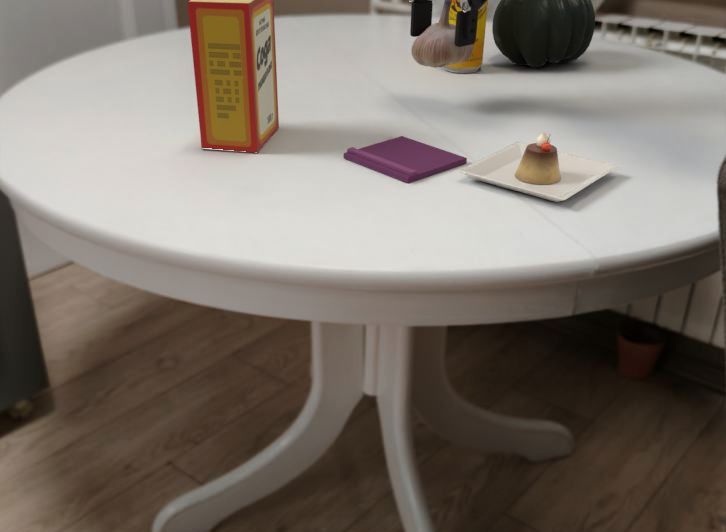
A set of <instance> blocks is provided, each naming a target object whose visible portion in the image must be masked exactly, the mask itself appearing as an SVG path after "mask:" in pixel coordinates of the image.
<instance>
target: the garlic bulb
mask: <svg viewBox="0 0 726 532" xmlns="http://www.w3.org/2000/svg"><path fill="white" fill-rule="evenodd" d="M451 3H452V0H444V2H443V6H442V11H441V13H440V14H441V15H440V16H439V19H438V22H435V23H432V24H431V26H429V27H428V28H427V29H426V30H425V31H424V32H423V33H422V34H421V35H420V36H417V37H415V39H414V41H413V43H412V45H411V56H412V58H413V60H414V61H415V62H416V63H417V64H419V65H421V66H422V67H430V68H435V69H436V68H443V67H444V66H445V65H450V64H455V63H463V62H465V61H467V60H468V59H469V58H470V56H471V54H472V52H473V44H471V45H467V46H462V47H457V46H455V29H456V26H455V25H453V24H449V11H450V7H451Z"/></svg>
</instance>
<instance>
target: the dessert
mask: <svg viewBox="0 0 726 532" xmlns="http://www.w3.org/2000/svg"><path fill="white" fill-rule="evenodd" d="M550 137H551V133H550V134H549V135H547V133H545V132H542V133H541V134H540V135H538V136H537V138H536V141H535V143H530V144H528V143H525V142H520V141H516V142H514V143H512V144H509V145H508V146H506V147H503V148H501V149H500V150H497V151H495V152H493V153H491V154H489V155H487V156H485V157H483V158H481V159H479V160H477V161H475V162H473V163H470V164H469V165H467V166H464V167H462V168H460V169H458V170H457V172H459V173H460V174H463V175H465V176H467V177H469V178H471V179H474V180H475V181H479V182H483V183H486V184H490V185H493V186H497V187H500V188H504V189H507V190H511V191H515V192H519V193H521V194H526V195H529V196H532V197H533V196H534V197H537V198H540V199H544V200H547V201H551V202H554V203H558V202H562V201H566V200H568V199H570V198H572V197H573V196H574V195H576V194H578V193H579V192H581V191H583V190H585V188H587V187H589V186H591V185H592V184H593V183H595V182H597V181H599V180H600V179H602V178H603V177H605V176H606V175H608V174H610V173H611V172H613V171H615V170H616V169H618V168H619V165H618V164H617V165H616V164H612V163H609V162H608V163H607V162H605V161H599V160H595V159H591V158H587V157H583V156H578V155H574V154H570V153H565V152H562V151H558V148H557V147H556V146H555V145H552V144H551V138H550Z"/></svg>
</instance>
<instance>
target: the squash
mask: <svg viewBox="0 0 726 532" xmlns="http://www.w3.org/2000/svg"><path fill="white" fill-rule="evenodd" d="M593 5H594V4H593V2H592V0H500V1H499V3H497V5H496V7H495V9H494V10H495V11H494V14H493V16H492V31H491V32H492V37H493V41H494V44H495V46H496V48H497V49H498V50H499V52H500V53H501V54H502V55H503V56H504V57H505V58H507V59H508V60H509V61H510V62H511V63H512V64H514V65H517V66H529V67H531V68H540V67H543V66H544V65H545V64H547V61H548V62H549V63H550V64H554V63H558V64H568V63H572V62H573V61H575V60H577V59H579V58H580V57H581V56H583V55H584V54H585V52H587V50H588V48H589V47H590V45H591V43H592V41H593V37H594V32H595V26H596V12H595V9H594V6H593Z"/></svg>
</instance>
